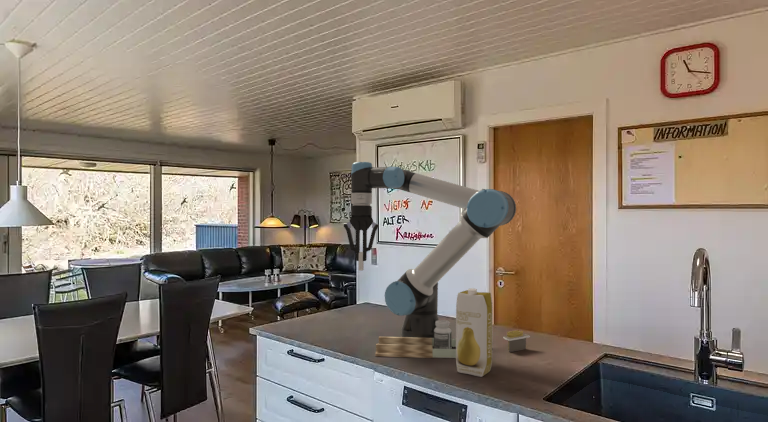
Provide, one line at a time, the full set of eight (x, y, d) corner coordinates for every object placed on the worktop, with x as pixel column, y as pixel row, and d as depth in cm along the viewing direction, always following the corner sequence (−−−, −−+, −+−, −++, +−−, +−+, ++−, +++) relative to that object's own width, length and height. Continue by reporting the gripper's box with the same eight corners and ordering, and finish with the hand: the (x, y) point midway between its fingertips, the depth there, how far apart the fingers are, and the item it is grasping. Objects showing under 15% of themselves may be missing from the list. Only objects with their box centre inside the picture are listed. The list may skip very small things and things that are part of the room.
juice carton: (452, 372, 141) (453, 288, 141) (464, 365, 148) (465, 285, 148) (483, 379, 136) (484, 291, 136) (494, 371, 142) (495, 288, 142)
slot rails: (431, 344, 170) (431, 336, 170) (432, 357, 155) (432, 348, 155) (379, 343, 172) (379, 334, 172) (375, 356, 156) (375, 346, 156)
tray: (473, 346, 168) (473, 339, 168) (477, 358, 155) (477, 350, 155) (431, 345, 170) (431, 337, 170) (432, 357, 156) (432, 349, 156)
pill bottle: (441, 348, 166) (441, 318, 166) (455, 351, 162) (455, 321, 162) (430, 352, 162) (430, 321, 162) (444, 355, 158) (444, 324, 158)
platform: (482, 350, 165) (482, 331, 165) (520, 343, 175) (520, 324, 175) (509, 360, 155) (509, 339, 155) (548, 351, 165) (548, 331, 165)
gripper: (342, 204, 176) (341, 271, 176) (378, 204, 175) (378, 271, 175) (345, 204, 184) (344, 268, 184) (380, 205, 183) (379, 269, 183)
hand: (361, 270), depth 179 cm, fingers closed
